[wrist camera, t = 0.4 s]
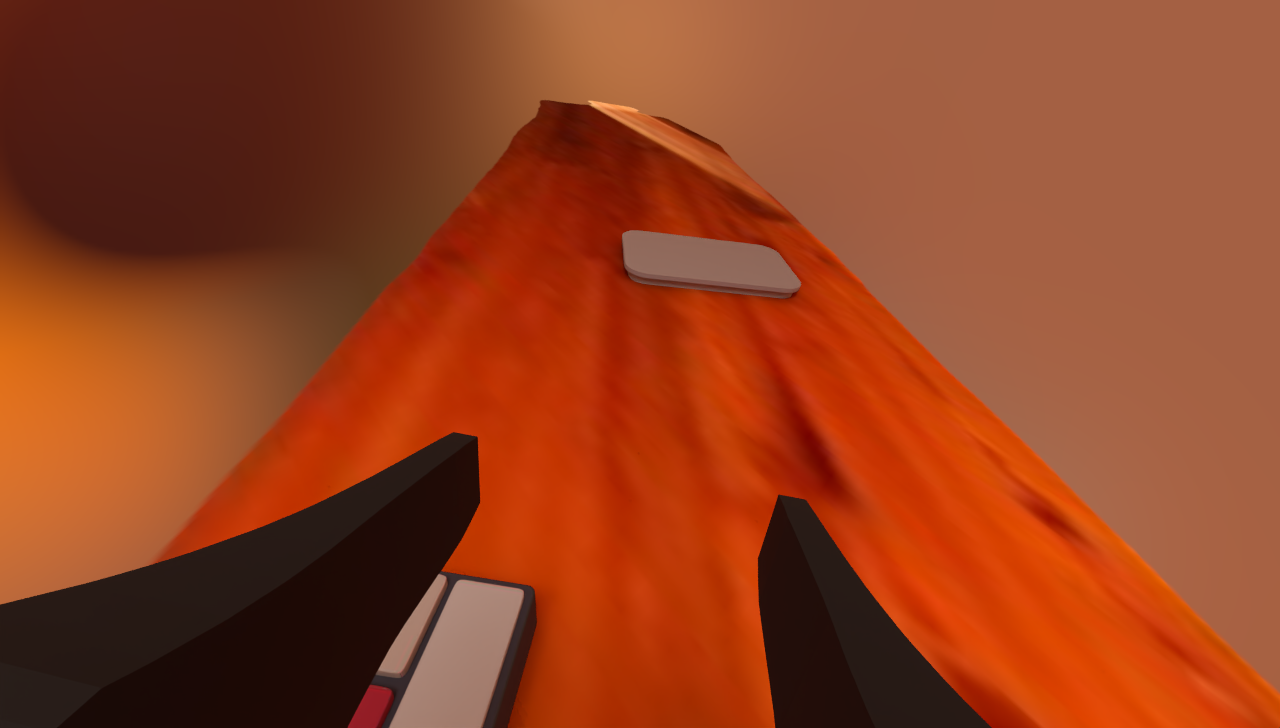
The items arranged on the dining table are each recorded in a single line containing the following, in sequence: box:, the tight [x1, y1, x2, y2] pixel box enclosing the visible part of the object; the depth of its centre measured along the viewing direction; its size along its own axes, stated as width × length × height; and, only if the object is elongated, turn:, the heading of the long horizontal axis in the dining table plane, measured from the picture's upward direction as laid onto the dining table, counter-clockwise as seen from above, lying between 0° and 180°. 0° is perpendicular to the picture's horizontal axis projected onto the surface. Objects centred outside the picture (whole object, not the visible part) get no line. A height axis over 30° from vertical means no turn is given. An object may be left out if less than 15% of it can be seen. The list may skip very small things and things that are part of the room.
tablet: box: [622, 230, 801, 298], centre depth 72 cm, size 16×26×2 cm, turn 94°
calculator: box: [348, 571, 537, 728], centre depth 22 cm, size 11×4×15 cm
